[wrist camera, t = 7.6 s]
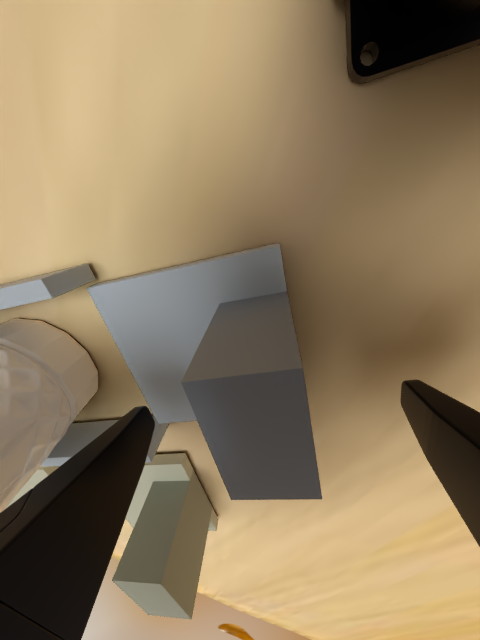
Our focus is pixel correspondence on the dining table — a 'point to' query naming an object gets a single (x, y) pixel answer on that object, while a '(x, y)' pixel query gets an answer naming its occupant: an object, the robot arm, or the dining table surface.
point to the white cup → (37, 396)
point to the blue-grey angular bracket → (206, 364)
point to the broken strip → (161, 536)
